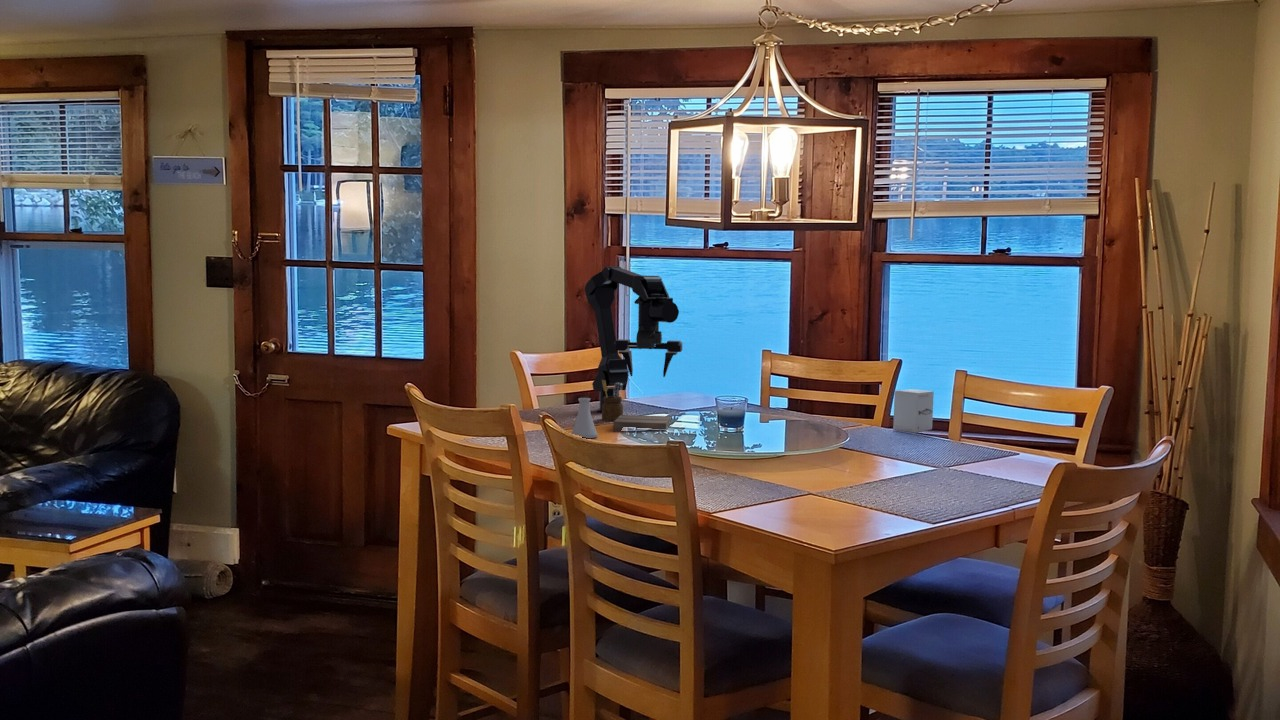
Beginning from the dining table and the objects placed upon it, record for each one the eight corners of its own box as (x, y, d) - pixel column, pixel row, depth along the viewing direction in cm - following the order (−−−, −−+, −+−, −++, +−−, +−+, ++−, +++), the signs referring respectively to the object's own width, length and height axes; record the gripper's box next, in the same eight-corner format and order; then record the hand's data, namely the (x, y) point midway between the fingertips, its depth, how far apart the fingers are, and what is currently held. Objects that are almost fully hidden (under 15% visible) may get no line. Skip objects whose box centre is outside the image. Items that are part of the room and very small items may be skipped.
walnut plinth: (620, 423, 318) (620, 414, 318) (670, 425, 316) (670, 416, 316) (613, 431, 304) (613, 421, 304) (665, 432, 302) (665, 423, 302)
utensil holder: (627, 422, 321) (627, 379, 320) (609, 423, 318) (609, 381, 316) (614, 419, 326) (614, 377, 325) (596, 421, 322) (597, 379, 321)
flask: (567, 435, 296) (567, 397, 295) (594, 434, 298) (594, 396, 297) (573, 439, 289) (573, 400, 288) (601, 438, 291) (601, 399, 290)
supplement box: (916, 442, 291) (917, 392, 290) (892, 438, 297) (893, 390, 296) (932, 439, 296) (934, 390, 295) (909, 435, 302) (910, 388, 301)
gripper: (611, 321, 312) (610, 378, 313) (679, 323, 310) (678, 380, 311) (617, 319, 323) (616, 374, 324) (682, 320, 321) (682, 376, 322)
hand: (647, 376), depth 320 cm, fingers open, 9 cm apart
